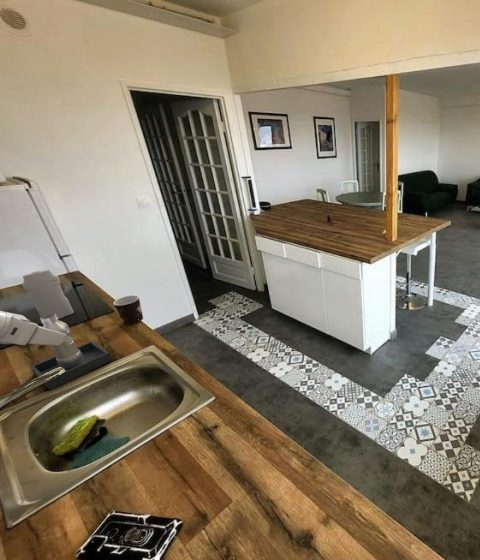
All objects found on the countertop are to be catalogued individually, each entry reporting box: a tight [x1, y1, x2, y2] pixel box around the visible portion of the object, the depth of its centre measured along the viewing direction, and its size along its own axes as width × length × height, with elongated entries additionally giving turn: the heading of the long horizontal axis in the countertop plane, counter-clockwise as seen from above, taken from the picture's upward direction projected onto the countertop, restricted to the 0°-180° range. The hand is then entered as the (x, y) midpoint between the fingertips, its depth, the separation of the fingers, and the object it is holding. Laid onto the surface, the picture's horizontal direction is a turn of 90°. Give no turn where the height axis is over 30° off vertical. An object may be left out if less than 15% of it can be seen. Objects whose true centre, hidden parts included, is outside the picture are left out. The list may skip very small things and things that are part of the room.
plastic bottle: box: [39, 313, 84, 369], centre depth 103 cm, size 6×7×20 cm
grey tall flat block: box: [21, 269, 75, 320], centre depth 132 cm, size 11×4×22 cm, turn 146°
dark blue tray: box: [29, 340, 113, 391], centre depth 107 cm, size 17×14×4 cm
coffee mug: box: [112, 294, 144, 325], centre depth 132 cm, size 12×9×10 cm
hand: (61, 337), depth 103 cm, fingers open, 8 cm apart
